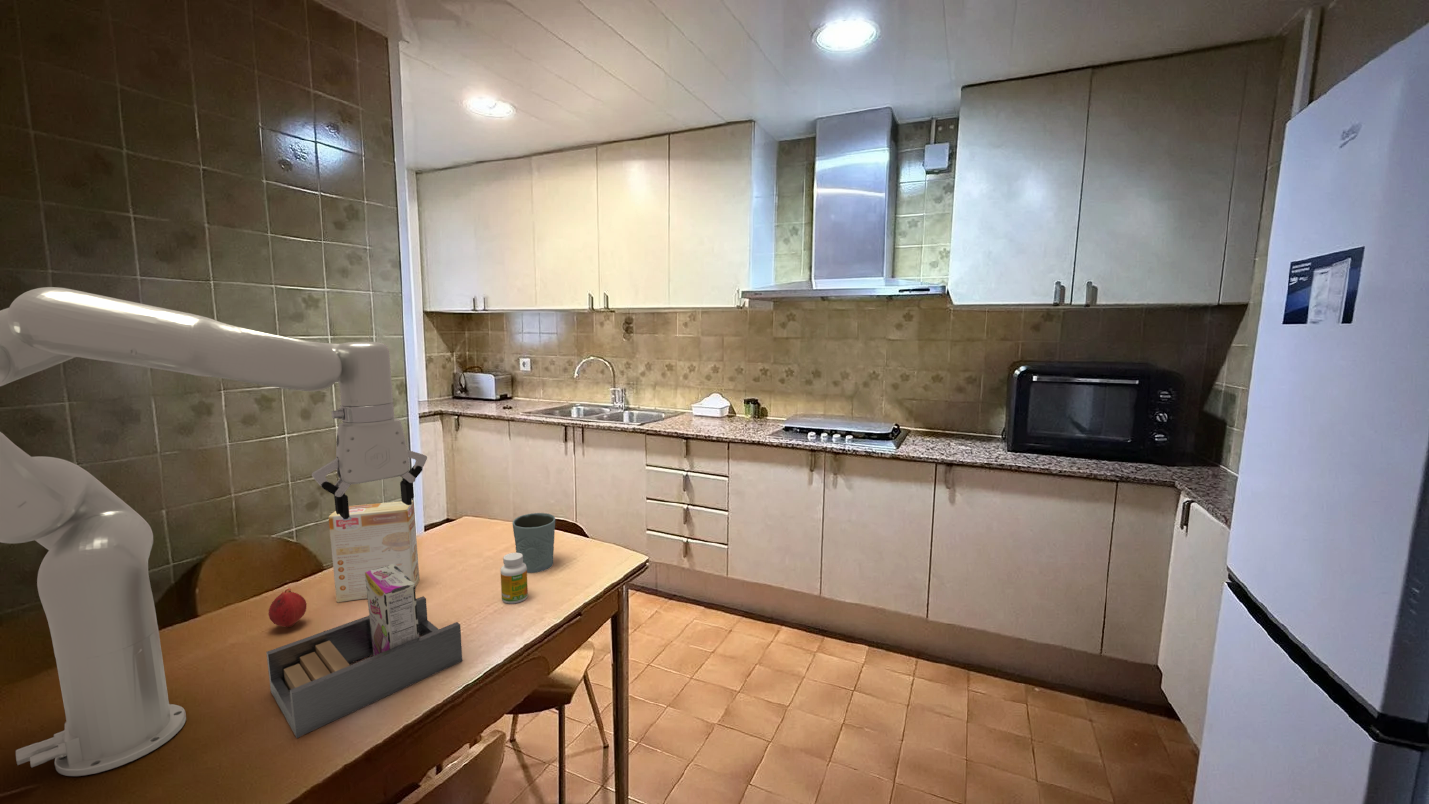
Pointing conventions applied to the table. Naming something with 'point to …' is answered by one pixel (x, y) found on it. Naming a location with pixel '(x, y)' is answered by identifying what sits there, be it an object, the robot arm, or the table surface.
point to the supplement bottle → (514, 579)
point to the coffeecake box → (372, 545)
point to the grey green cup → (535, 540)
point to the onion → (287, 608)
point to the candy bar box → (391, 608)
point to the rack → (353, 669)
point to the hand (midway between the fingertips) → (376, 509)
